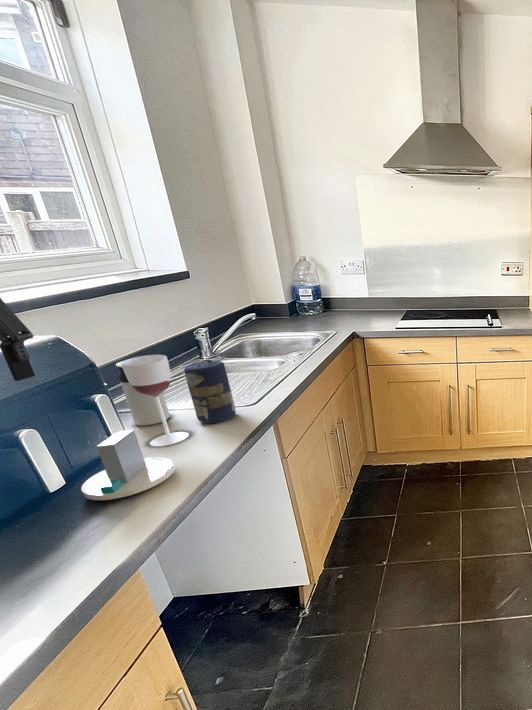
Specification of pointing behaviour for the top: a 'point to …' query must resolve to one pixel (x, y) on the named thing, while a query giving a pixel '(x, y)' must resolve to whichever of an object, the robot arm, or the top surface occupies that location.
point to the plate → (135, 484)
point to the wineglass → (152, 388)
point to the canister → (210, 391)
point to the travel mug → (142, 403)
